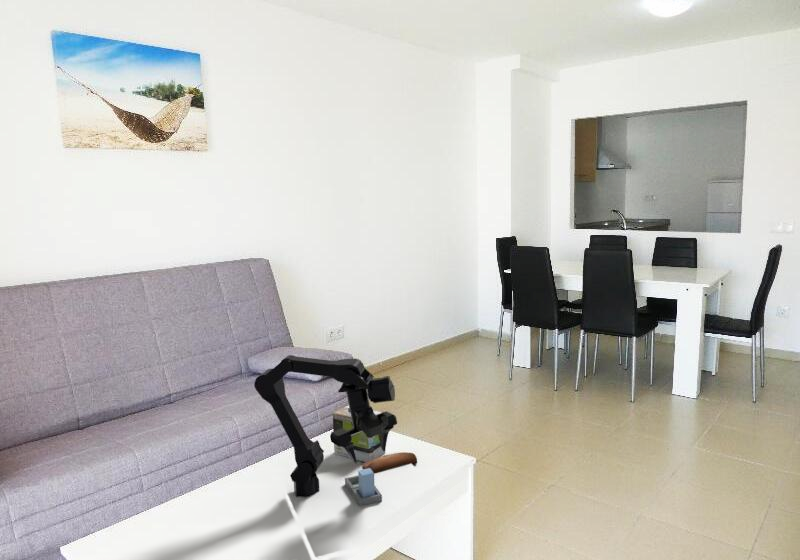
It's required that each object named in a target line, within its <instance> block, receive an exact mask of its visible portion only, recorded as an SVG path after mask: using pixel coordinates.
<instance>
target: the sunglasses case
mask: <svg viewBox="0 0 800 560" xmlns="http://www.w3.org/2000/svg"><path fill="white" fill-rule="evenodd" d="M416 463H418V458H417V456H416V454H415V453H413V452H406V451H405V452H404V451H403V452H395V453H389V454H386V455H384V454H383V455H381V456H380V457H378V458H376V459H375V460H372V461H369V462H364V463H362V464H361V469H362V470H363V469H367V468H370V469H371V470H372V471H373V473H374V474H377V473H380V472H384V471H387V470H391V469H394V468H397V467H402V466H405V465H409V464H411V465H413V464H416Z"/></svg>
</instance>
